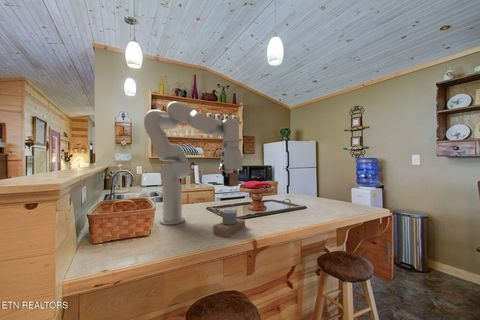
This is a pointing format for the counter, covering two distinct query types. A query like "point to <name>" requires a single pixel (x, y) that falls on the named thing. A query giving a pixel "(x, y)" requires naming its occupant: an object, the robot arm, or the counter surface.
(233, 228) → the brick
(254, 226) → the counter surface
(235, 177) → the walnut block
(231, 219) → the slate block
